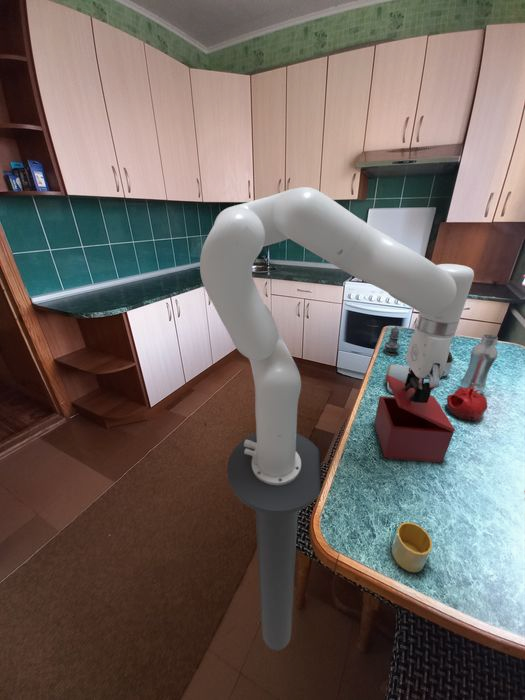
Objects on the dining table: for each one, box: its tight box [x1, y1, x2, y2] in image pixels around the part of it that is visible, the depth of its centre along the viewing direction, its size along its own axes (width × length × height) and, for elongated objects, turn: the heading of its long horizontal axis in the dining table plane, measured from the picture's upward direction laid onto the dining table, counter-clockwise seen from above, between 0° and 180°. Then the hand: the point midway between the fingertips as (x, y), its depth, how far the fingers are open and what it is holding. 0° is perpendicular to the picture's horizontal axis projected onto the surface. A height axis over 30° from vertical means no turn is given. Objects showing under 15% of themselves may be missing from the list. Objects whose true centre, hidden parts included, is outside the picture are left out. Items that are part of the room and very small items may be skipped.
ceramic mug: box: [384, 363, 410, 395], centre depth 97 cm, size 11×8×8 cm
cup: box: [391, 521, 433, 573], centre depth 51 cm, size 5×6×6 cm
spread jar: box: [428, 346, 454, 378], centre depth 105 cm, size 12×11×12 cm
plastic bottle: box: [459, 334, 499, 395], centre depth 91 cm, size 6×7×20 cm
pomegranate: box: [446, 385, 488, 421], centre depth 85 cm, size 10×10×9 cm
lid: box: [385, 375, 456, 433], centre depth 70 cm, size 14×13×5 cm
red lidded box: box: [373, 395, 454, 464], centre depth 75 cm, size 14×13×10 cm
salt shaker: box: [383, 326, 401, 357], centre depth 118 cm, size 6×6×12 cm
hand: (415, 393), depth 70 cm, fingers closed on lid, 5 cm apart
